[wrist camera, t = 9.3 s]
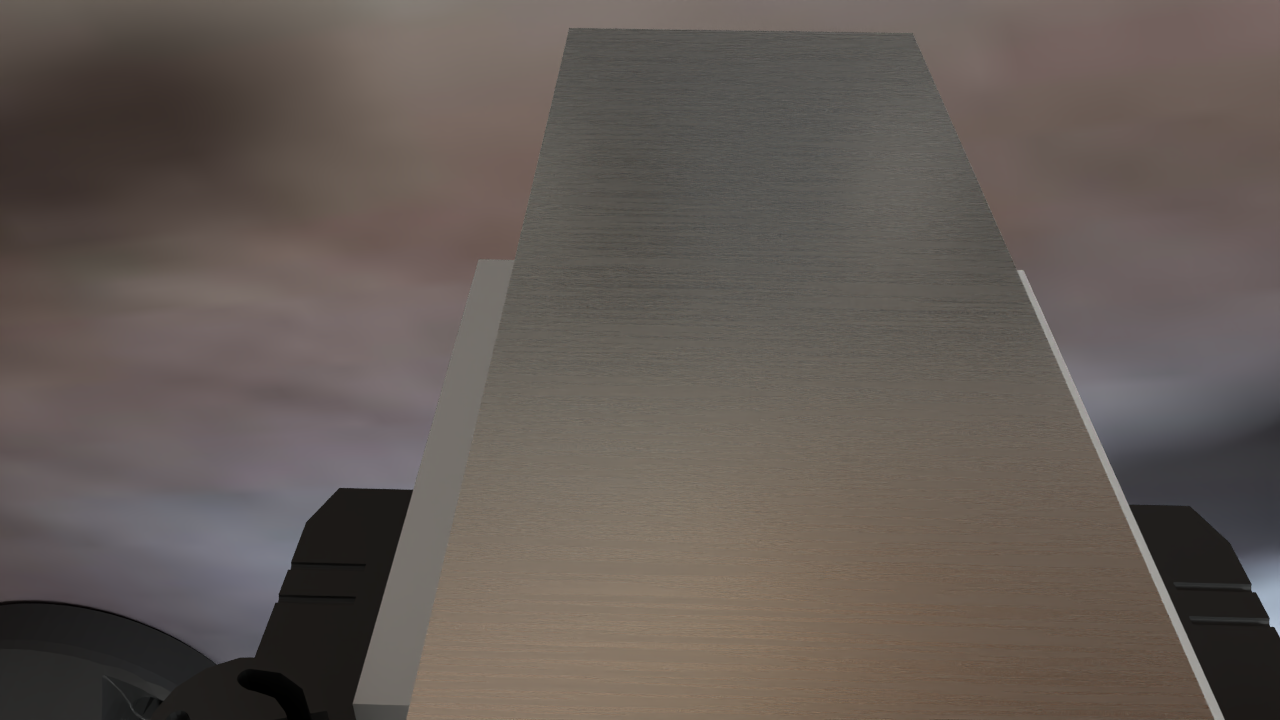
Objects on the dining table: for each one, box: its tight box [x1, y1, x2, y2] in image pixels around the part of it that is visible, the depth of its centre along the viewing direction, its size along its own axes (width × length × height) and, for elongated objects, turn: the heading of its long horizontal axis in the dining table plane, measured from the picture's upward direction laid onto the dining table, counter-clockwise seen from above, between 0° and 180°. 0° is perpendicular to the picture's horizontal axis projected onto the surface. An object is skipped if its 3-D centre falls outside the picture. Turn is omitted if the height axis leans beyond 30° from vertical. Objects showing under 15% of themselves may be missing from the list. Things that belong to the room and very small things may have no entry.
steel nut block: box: [406, 28, 1214, 720], centre depth 13 cm, size 5×5×13 cm
